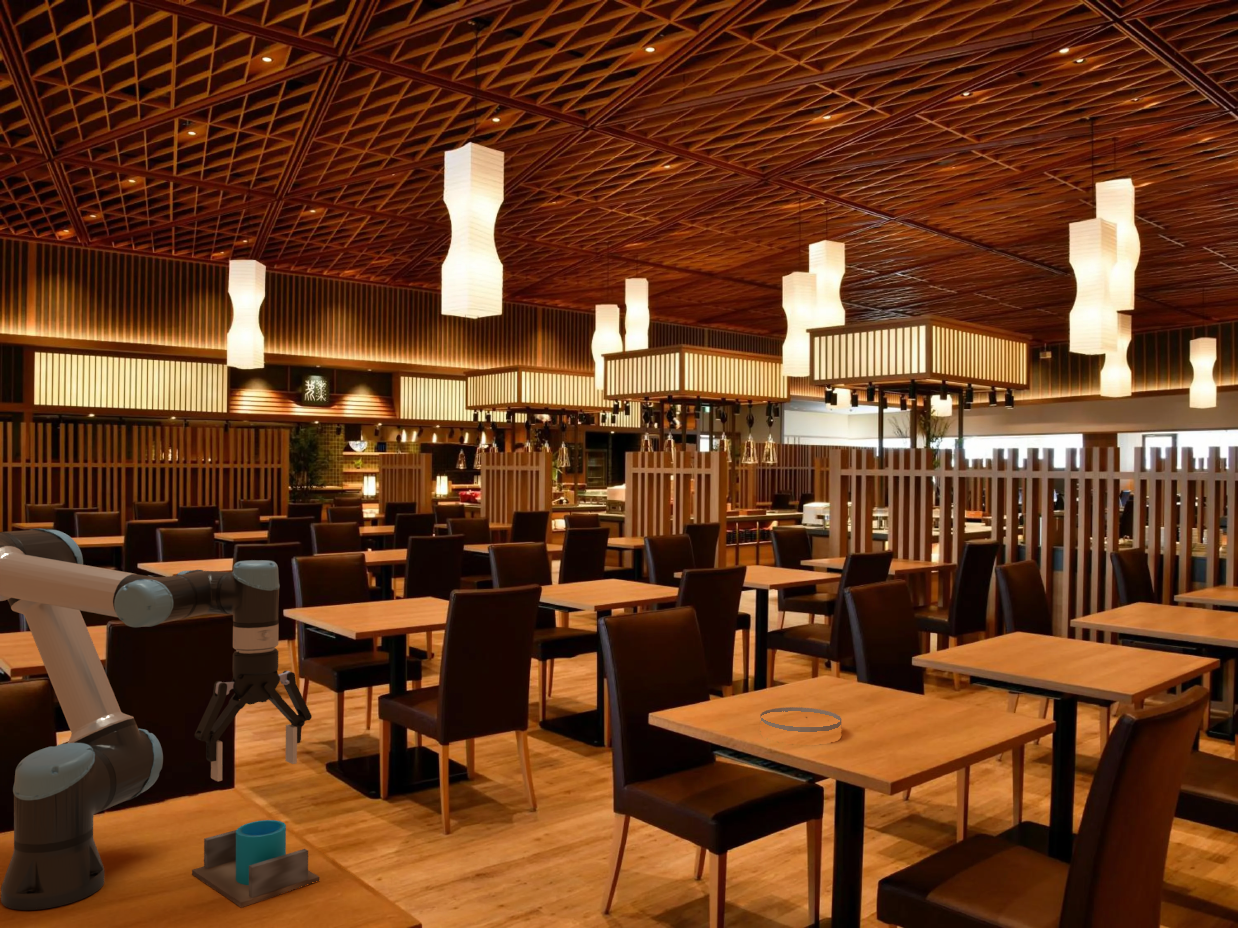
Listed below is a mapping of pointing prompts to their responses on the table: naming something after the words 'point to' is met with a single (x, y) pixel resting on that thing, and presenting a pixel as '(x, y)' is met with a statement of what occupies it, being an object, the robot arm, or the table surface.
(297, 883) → the holder
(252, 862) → the mug
